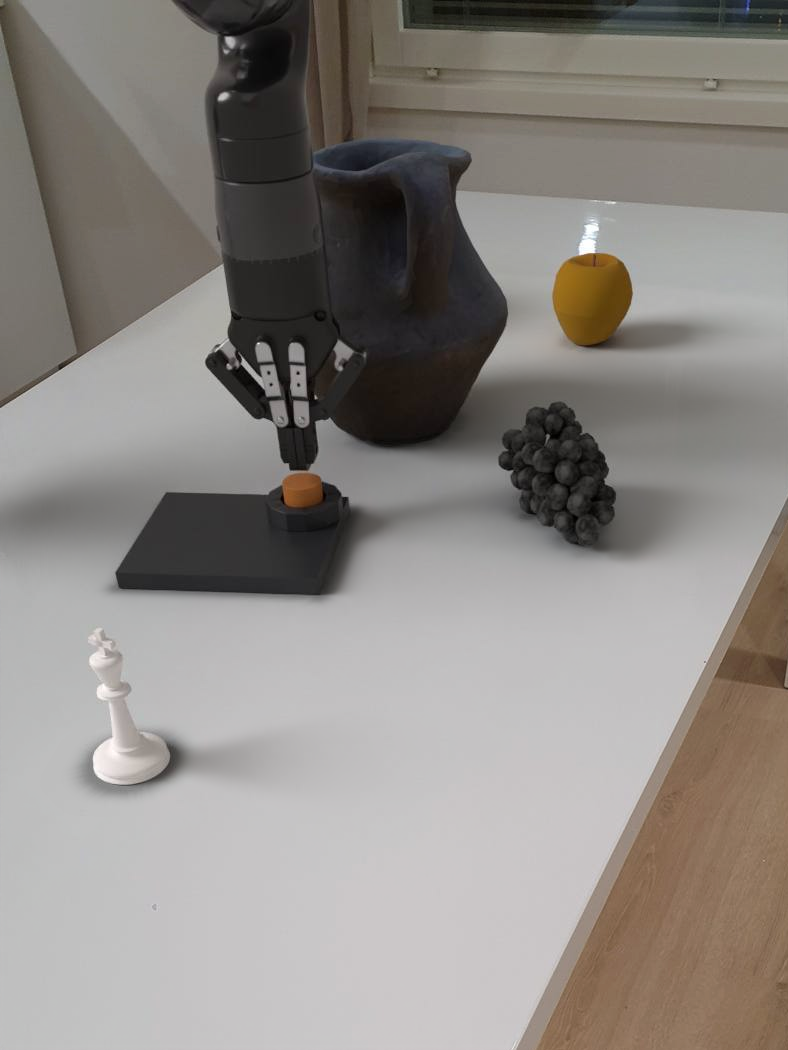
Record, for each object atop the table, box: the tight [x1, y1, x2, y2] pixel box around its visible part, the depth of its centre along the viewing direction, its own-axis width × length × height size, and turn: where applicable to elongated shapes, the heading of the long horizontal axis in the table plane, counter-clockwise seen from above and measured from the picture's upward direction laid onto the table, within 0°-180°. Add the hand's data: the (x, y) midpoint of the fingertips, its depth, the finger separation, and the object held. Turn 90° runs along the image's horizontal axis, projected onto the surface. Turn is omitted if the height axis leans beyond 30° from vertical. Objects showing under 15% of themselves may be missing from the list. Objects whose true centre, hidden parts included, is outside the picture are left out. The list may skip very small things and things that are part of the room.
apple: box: [551, 252, 634, 346], centre depth 136 cm, size 8×8×9 cm
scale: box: [114, 480, 351, 595], centre depth 105 cm, size 16×14×3 cm
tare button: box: [281, 472, 323, 507], centre depth 105 cm, size 3×3×2 cm
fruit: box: [497, 401, 617, 547], centre depth 105 cm, size 9×8×15 cm
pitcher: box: [312, 137, 509, 444], centre depth 115 cm, size 21×22×25 cm
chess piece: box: [87, 627, 171, 786], centre depth 81 cm, size 5×5×10 cm
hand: (300, 466), depth 104 cm, fingers closed
